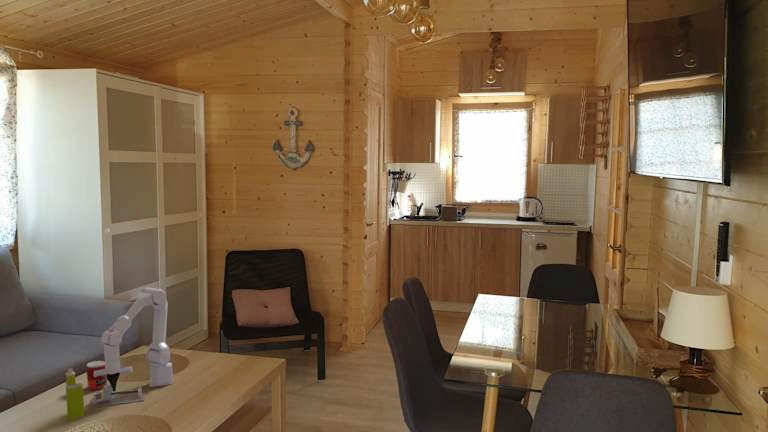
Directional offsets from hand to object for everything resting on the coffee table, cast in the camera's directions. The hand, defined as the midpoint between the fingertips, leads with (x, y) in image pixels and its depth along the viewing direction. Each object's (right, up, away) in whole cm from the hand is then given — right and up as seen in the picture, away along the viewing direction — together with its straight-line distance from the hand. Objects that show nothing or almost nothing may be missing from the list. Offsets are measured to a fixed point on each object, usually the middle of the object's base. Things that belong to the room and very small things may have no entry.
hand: (114, 390), depth 242 cm
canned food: (-15, -3, +15) cm, 21 cm away
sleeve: (-2, -3, -1) cm, 4 cm away
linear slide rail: (+1, -4, +1) cm, 4 cm away
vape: (-8, -6, -15) cm, 18 cm away
